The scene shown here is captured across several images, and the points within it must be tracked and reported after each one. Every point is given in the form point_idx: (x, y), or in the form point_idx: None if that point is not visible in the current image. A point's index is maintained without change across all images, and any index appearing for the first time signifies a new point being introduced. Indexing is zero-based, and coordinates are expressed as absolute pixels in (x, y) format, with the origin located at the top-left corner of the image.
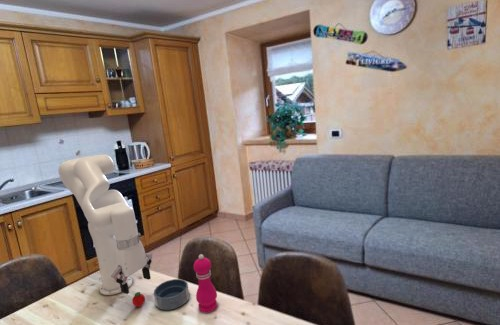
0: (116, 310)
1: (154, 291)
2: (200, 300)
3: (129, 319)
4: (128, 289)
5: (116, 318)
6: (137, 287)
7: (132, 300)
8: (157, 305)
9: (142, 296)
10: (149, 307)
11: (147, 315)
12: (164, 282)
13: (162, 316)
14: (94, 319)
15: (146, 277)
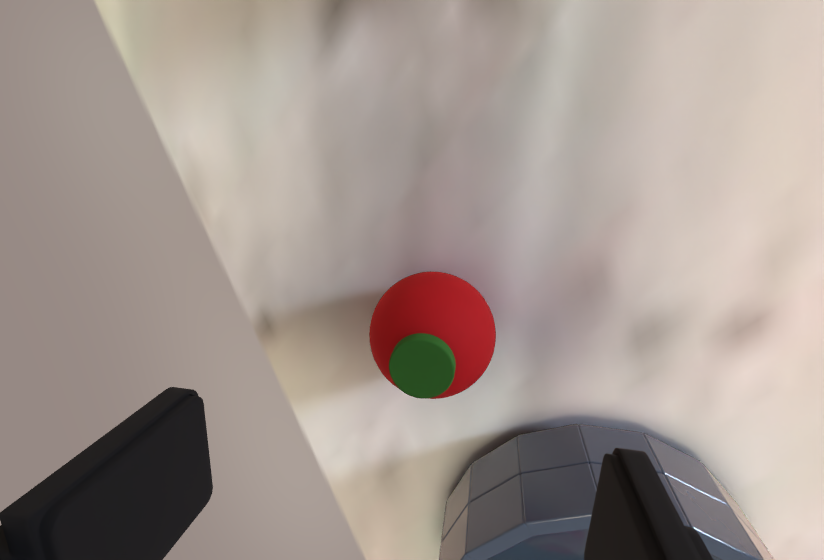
0: (301, 150)
1: (508, 538)
2: None
3: (278, 357)
4: (176, 538)
5: (237, 247)
6: (728, 3)
7: (377, 308)
8: (446, 513)
9: (443, 397)
10: (445, 410)
11: (366, 453)
12: (714, 551)
13: (399, 549)
14: (132, 52)
15: (598, 544)
